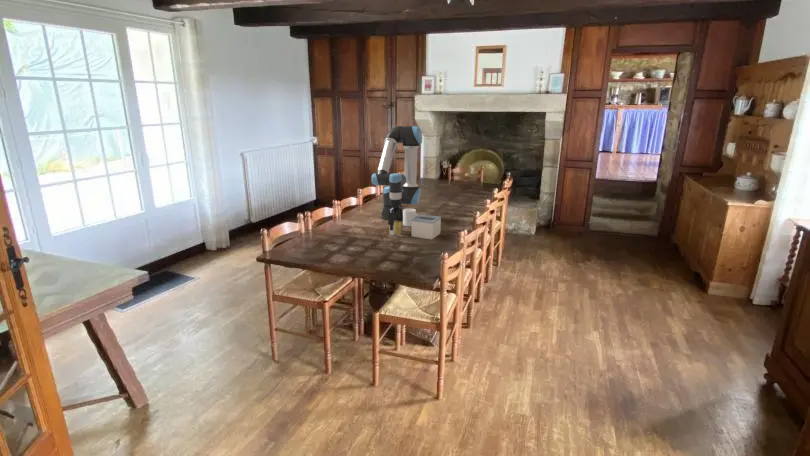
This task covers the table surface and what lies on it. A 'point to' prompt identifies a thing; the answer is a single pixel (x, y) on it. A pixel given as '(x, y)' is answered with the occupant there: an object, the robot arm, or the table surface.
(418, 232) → the coin box
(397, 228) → the block
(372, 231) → the table surface
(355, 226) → the table surface
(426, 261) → the table surface
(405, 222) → the mug
